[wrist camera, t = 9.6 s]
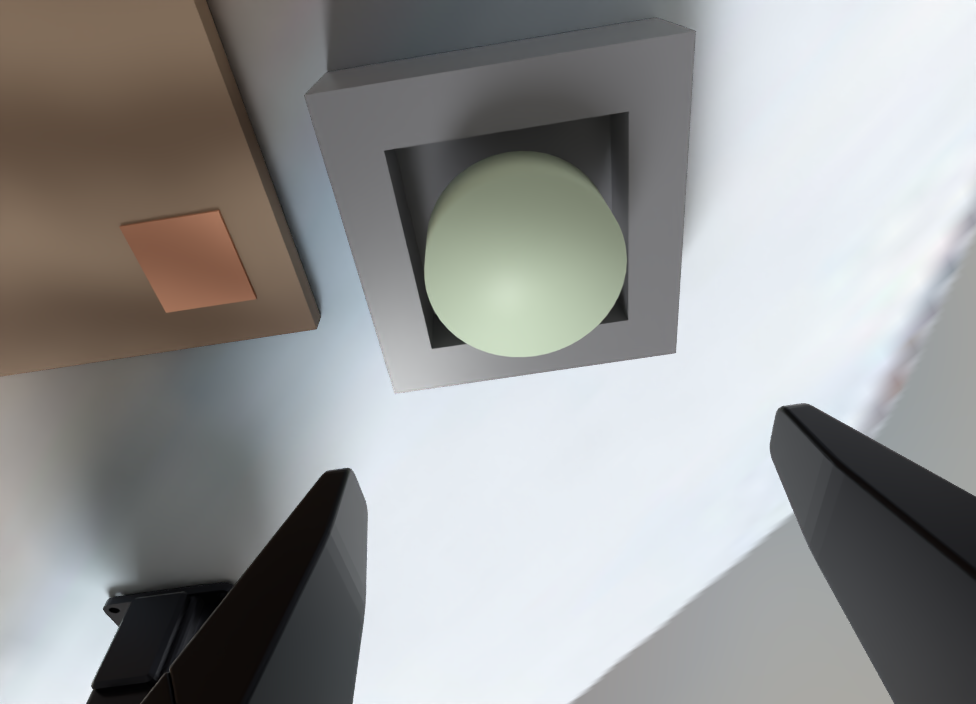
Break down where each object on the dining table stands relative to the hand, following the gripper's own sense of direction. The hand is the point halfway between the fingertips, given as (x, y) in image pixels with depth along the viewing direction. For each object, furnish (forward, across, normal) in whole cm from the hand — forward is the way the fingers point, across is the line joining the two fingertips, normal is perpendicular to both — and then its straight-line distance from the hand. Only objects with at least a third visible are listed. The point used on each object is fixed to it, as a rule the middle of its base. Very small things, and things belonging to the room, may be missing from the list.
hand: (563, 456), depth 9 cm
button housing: (+11, 0, 0) cm, 11 cm away
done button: (+8, 0, 0) cm, 8 cm away
